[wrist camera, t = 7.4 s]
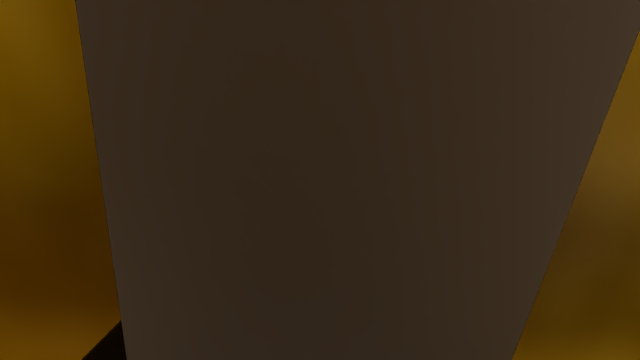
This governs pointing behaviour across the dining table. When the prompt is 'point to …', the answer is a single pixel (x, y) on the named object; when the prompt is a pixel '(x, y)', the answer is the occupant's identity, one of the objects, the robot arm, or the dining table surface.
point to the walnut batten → (342, 168)
